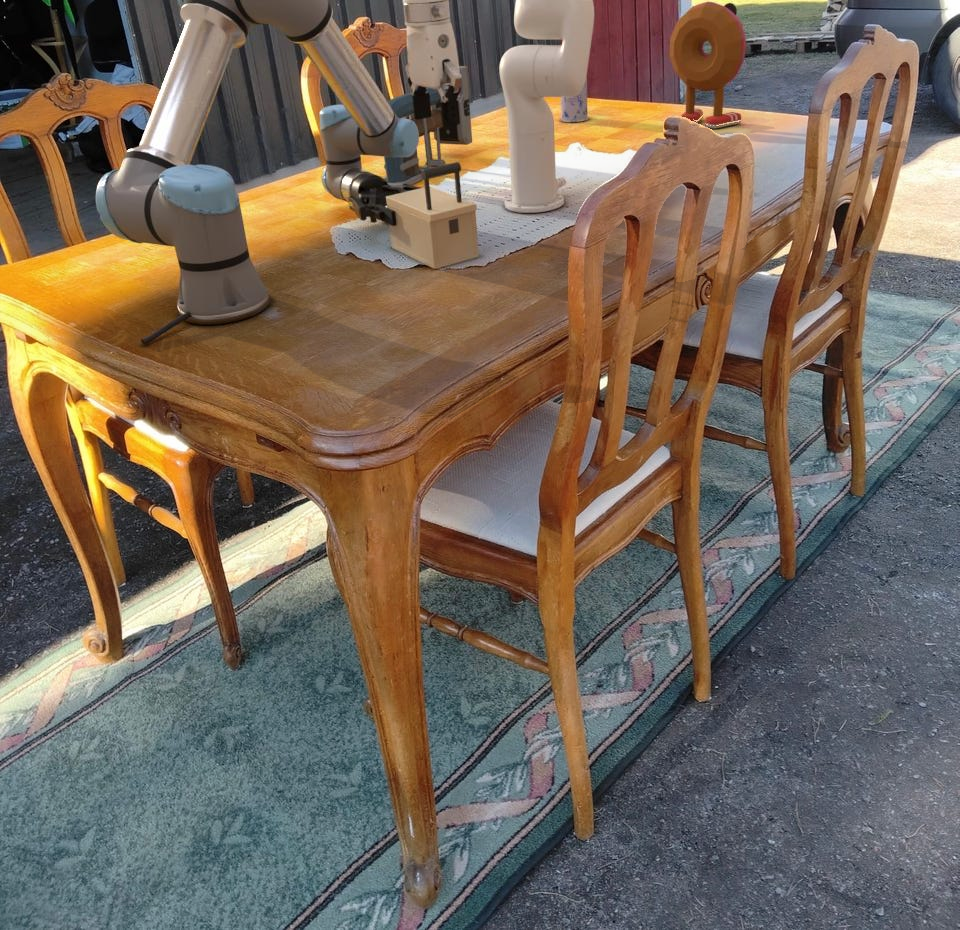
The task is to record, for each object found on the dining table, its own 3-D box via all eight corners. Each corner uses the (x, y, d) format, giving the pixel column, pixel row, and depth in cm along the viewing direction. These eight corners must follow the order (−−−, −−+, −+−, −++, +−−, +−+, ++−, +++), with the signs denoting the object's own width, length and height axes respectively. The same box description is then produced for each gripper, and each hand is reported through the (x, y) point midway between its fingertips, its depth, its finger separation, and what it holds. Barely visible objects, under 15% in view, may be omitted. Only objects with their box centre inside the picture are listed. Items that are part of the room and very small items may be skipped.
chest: (479, 256, 180) (475, 210, 175) (434, 269, 176) (429, 221, 171) (434, 236, 192) (430, 192, 188) (392, 247, 188) (386, 203, 184)
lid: (476, 210, 175) (473, 163, 171) (431, 222, 171) (426, 174, 167) (430, 192, 188) (425, 148, 184) (386, 202, 184) (380, 158, 180)
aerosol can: (559, 122, 275) (557, 47, 265) (562, 117, 282) (559, 42, 272) (587, 121, 274) (585, 45, 263) (589, 115, 280) (587, 41, 270)
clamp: (400, 190, 224) (389, 93, 213) (369, 188, 228) (356, 93, 217) (473, 154, 250) (466, 66, 239) (444, 152, 254) (436, 66, 243)
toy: (751, 123, 256) (760, -2, 241) (731, 131, 250) (739, 4, 235) (683, 117, 270) (686, -2, 254) (662, 124, 263) (664, 3, 248)
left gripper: (415, 197, 208) (469, 219, 191) (320, 220, 198) (368, 245, 182) (411, 162, 204) (466, 181, 187) (314, 183, 195) (362, 205, 178)
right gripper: (473, 13, 154) (481, 124, 163) (421, 8, 167) (431, 112, 175) (433, 19, 151) (443, 132, 159) (382, 14, 164) (394, 119, 172)
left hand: (418, 212), depth 185 cm, fingers open, 10 cm apart
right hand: (437, 121), depth 167 cm, fingers open, 9 cm apart
